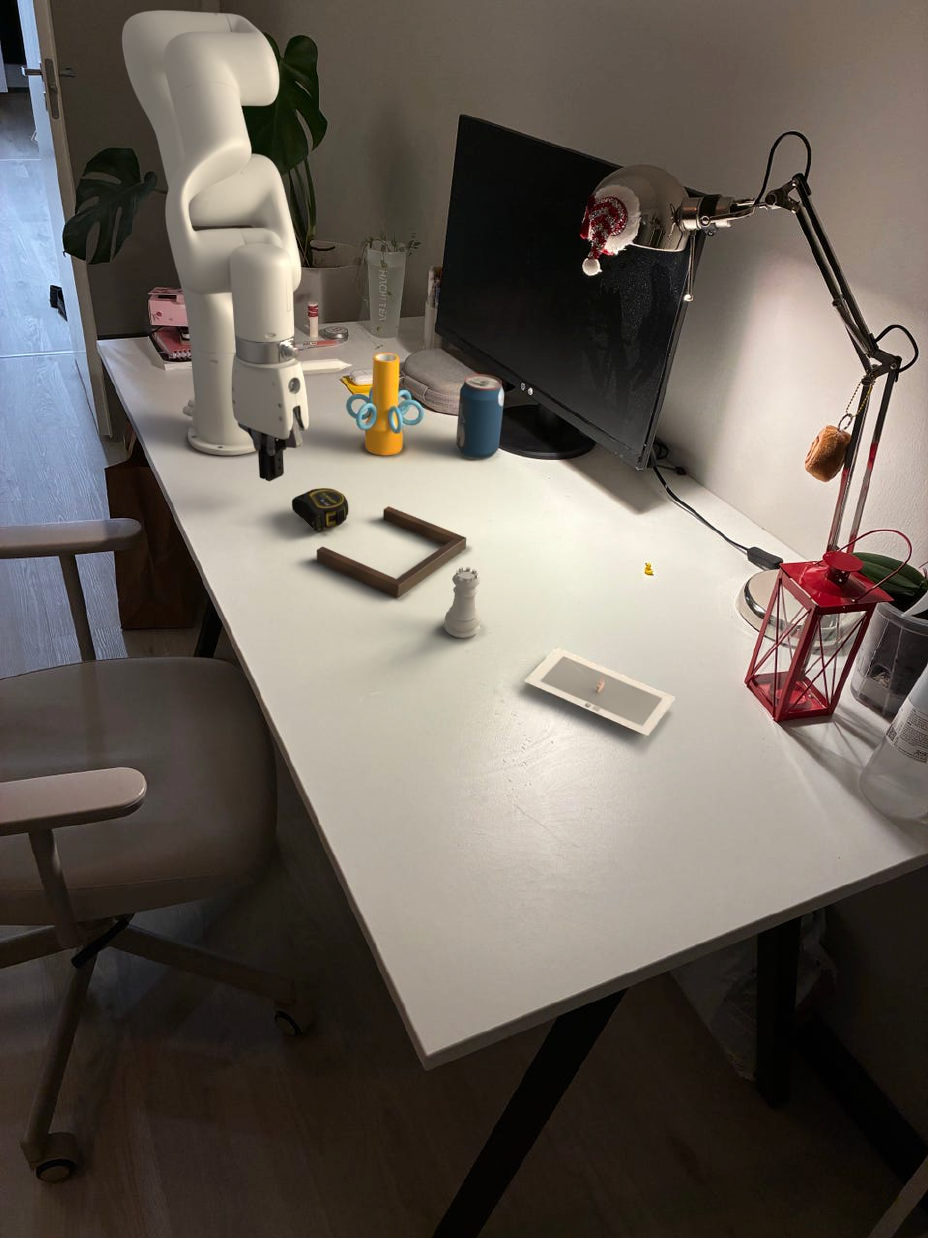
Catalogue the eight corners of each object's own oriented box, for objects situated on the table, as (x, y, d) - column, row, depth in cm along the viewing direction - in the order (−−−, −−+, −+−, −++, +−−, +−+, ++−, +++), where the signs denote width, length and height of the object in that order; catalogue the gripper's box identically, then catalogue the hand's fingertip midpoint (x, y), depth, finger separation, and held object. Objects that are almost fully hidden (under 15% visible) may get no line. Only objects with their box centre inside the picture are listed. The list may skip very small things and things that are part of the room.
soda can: (506, 451, 157) (513, 380, 150) (483, 465, 152) (490, 393, 145) (470, 438, 160) (476, 368, 153) (447, 452, 155) (452, 381, 148)
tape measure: (290, 516, 135) (289, 492, 133) (333, 505, 138) (333, 482, 136) (312, 538, 131) (311, 514, 128) (357, 527, 134) (357, 503, 132)
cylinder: (425, 438, 159) (430, 349, 150) (416, 466, 150) (421, 374, 142) (352, 430, 159) (353, 341, 151) (339, 457, 151) (339, 364, 142)
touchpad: (555, 654, 114) (557, 639, 112) (674, 705, 108) (677, 690, 106) (522, 688, 108) (524, 673, 107) (646, 743, 102) (649, 728, 101)
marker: (353, 373, 181) (268, 379, 175) (350, 364, 182) (265, 370, 176) (355, 364, 179) (269, 370, 173) (352, 355, 180) (267, 360, 174)
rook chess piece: (485, 623, 118) (491, 568, 113) (473, 643, 114) (479, 587, 109) (450, 614, 119) (455, 559, 114) (437, 634, 115) (442, 577, 110)
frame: (316, 561, 126) (316, 549, 125) (388, 517, 137) (388, 506, 136) (397, 598, 121) (398, 586, 120) (465, 548, 131) (466, 537, 130)
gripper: (329, 354, 124) (330, 483, 134) (243, 327, 130) (251, 452, 140) (289, 369, 118) (294, 502, 129) (201, 340, 125) (213, 469, 135)
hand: (271, 476), depth 135 cm, fingers closed
